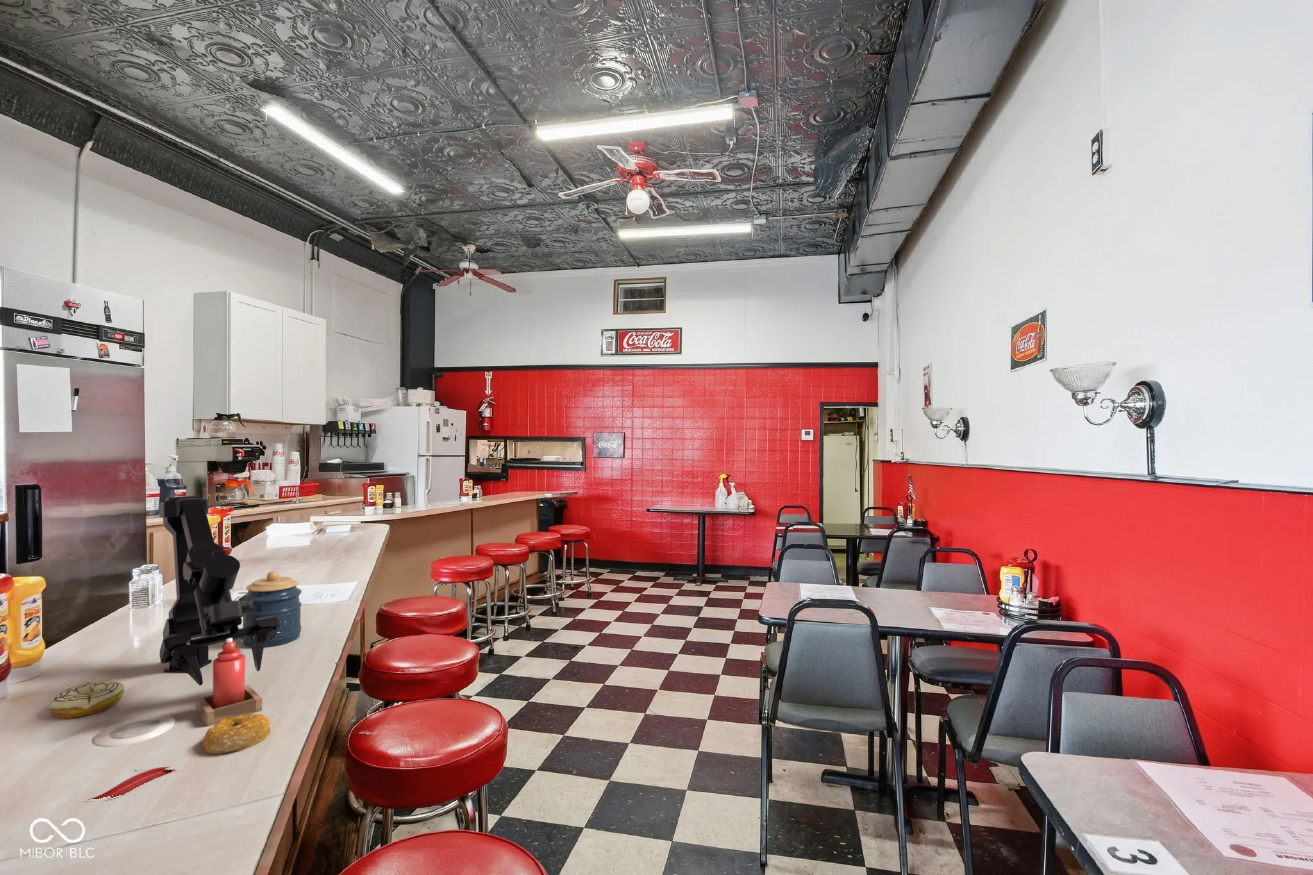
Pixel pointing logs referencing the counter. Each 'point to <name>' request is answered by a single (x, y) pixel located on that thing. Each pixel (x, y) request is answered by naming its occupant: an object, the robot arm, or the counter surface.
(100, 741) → the saucer
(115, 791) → the cayenne pepper
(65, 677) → the counter surface
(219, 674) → the ketchup bottle
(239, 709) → the tray
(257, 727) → the bagel
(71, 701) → the decorated donut
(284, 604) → the canister
